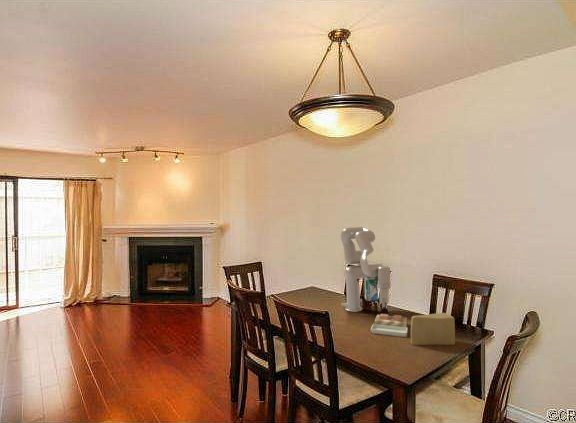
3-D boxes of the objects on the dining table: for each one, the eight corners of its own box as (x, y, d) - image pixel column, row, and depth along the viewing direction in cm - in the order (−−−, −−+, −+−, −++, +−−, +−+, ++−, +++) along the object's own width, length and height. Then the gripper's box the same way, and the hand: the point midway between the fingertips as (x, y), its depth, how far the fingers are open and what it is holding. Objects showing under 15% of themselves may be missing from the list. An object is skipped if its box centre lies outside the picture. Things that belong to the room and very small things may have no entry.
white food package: (374, 327, 202) (374, 320, 202) (377, 321, 213) (377, 314, 213) (405, 331, 195) (405, 323, 195) (407, 324, 206) (406, 317, 206)
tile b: (393, 320, 201) (393, 317, 201) (394, 318, 205) (394, 314, 205) (401, 321, 199) (401, 317, 199) (401, 318, 203) (401, 315, 203)
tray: (370, 333, 193) (370, 329, 193) (373, 327, 202) (373, 323, 202) (406, 337, 185) (406, 333, 185) (407, 331, 194) (407, 327, 194)
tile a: (380, 319, 204) (379, 315, 204) (380, 316, 208) (380, 313, 208) (387, 319, 202) (387, 316, 202) (388, 317, 207) (388, 314, 207)
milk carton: (376, 298, 271) (375, 267, 271) (377, 300, 262) (377, 269, 262) (364, 298, 272) (364, 267, 272) (366, 300, 263) (365, 269, 263)
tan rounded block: (415, 348, 170) (415, 319, 171) (407, 341, 180) (406, 313, 180) (456, 345, 173) (455, 316, 173) (445, 338, 182) (444, 311, 182)
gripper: (379, 282, 218) (380, 310, 218) (376, 287, 204) (377, 317, 204) (391, 283, 215) (392, 311, 215) (389, 288, 201) (390, 318, 201)
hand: (385, 314), depth 209 cm, fingers closed
